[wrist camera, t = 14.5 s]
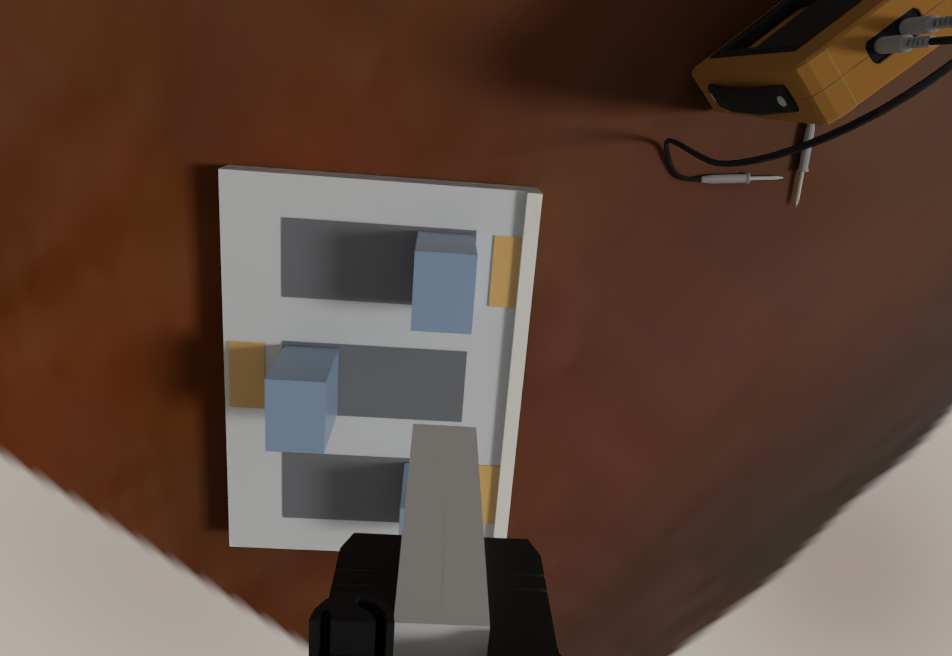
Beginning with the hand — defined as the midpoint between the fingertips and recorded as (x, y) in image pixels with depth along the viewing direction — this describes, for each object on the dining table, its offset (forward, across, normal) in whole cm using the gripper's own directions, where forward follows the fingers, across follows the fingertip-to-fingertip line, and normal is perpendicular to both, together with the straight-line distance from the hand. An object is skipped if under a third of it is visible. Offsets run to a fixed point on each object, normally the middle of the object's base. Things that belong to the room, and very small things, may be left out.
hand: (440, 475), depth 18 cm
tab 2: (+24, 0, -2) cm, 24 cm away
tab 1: (+24, -7, -9) cm, 26 cm away
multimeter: (+27, +18, +8) cm, 34 cm away
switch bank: (+26, -4, -9) cm, 27 cm away
